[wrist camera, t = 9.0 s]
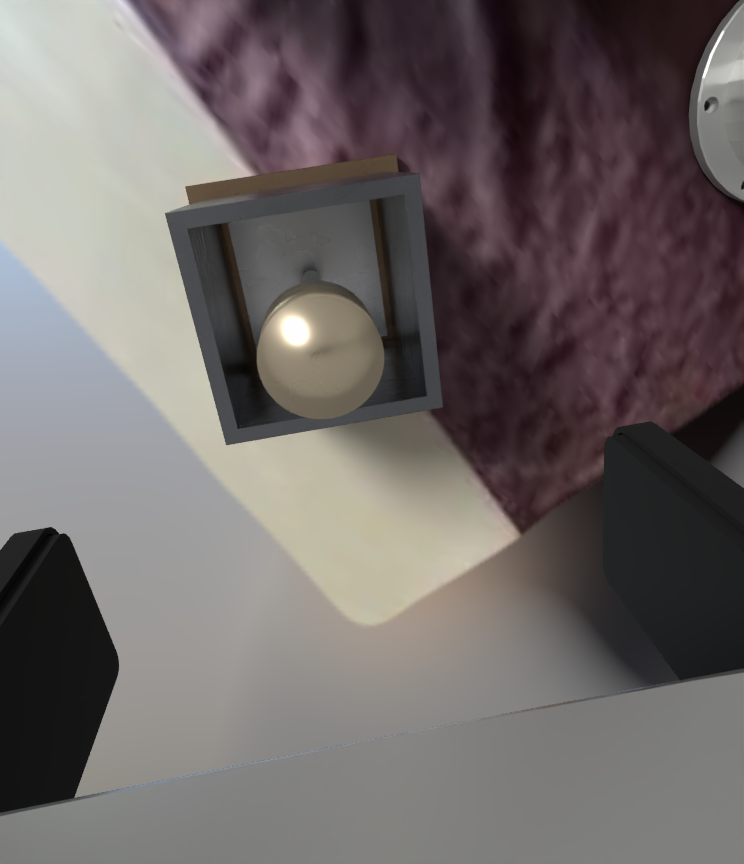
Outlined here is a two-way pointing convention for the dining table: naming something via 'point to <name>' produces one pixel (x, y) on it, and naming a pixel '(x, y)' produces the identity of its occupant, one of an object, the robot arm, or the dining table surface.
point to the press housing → (227, 312)
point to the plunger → (314, 306)
